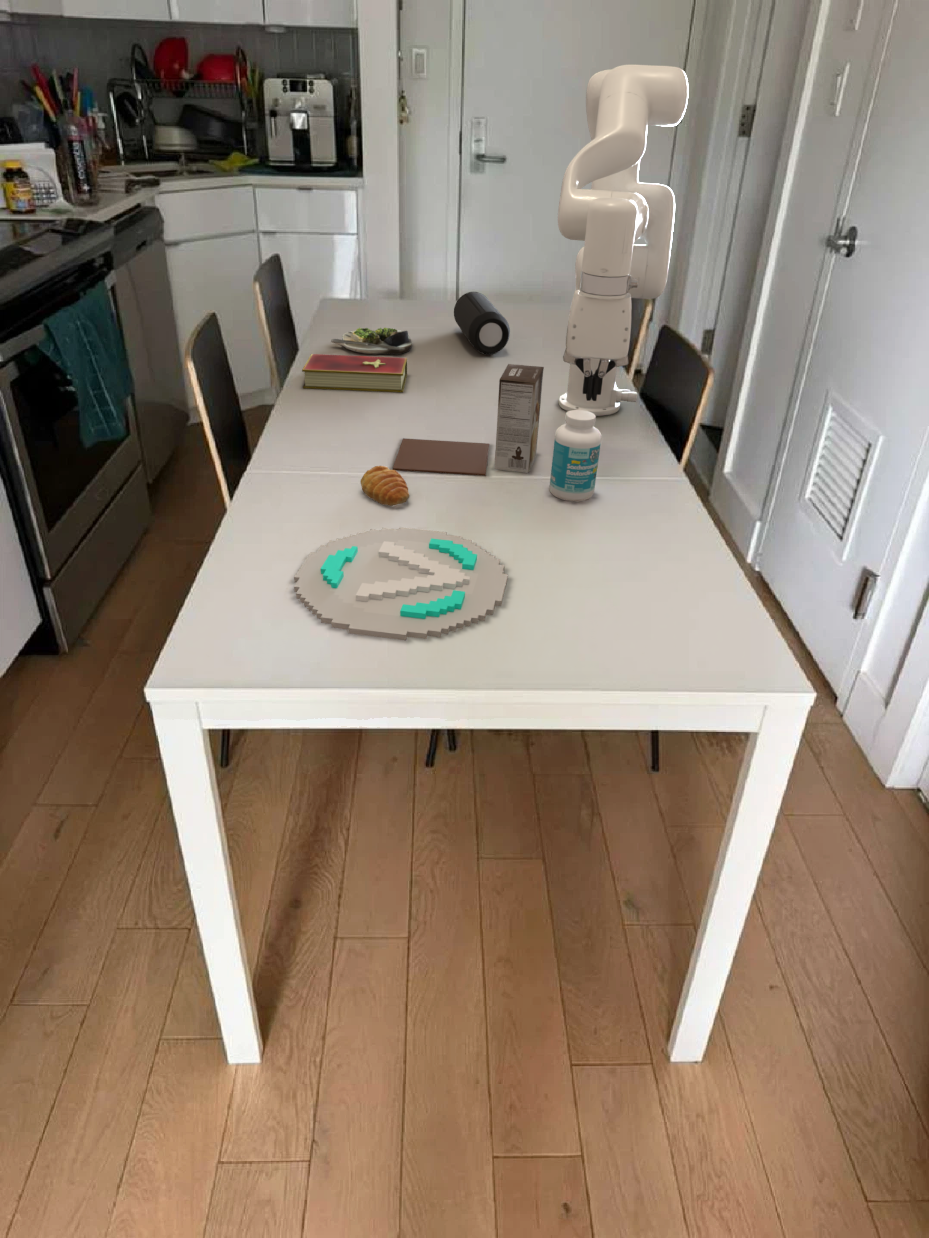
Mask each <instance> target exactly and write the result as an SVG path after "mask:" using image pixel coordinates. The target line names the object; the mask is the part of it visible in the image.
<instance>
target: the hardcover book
mask: <svg viewBox="0 0 929 1238" xmlns="http://www.w3.org/2000/svg"><path fill="white" fill-rule="evenodd" d="M301 372H303V373H304V383H303V386H302V388H303V389H311V390H330V391H331V390H333V391H334V390H335V391H354V392H355V391H358V392H383V393H404V389H405V385H406V381H407V377H408V357H395V356H394V357H393V356H371V355H370V356H369V355H368V356H367V355H346V354H345V355H344V354H323V353H321V354H320V353H311V354H310V356H309V357H308V359H307V360H306V361H305V364H304V365H303V367H302V368H301Z"/></svg>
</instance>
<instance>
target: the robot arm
mask: <svg viewBox="0 0 929 1238" xmlns="http://www.w3.org/2000/svg"><path fill="white" fill-rule="evenodd" d="M688 81H689V80H688V77H687V74H686V72H685V71H684V70H683V69H682V68H680V67H679V66H671V65H653V64H651V65H650V64H621V65H618V66H615V67H613V68H612V69H611V68H609V69H605V70H604V69H603V70H600V71H598V72H595V73H594V74H593V75H591V77H590V78H589V80H588V83H587V86H586V93H585V112H586V113H585V114H586V121H587V126H588V131H589V136H590V141H589V142H588V143H586V144H585V145H584V146H583V147H582V148H581V149H580V150H579V151H578V152H577V153H576V154H575V155H574V156H573V158H572V159H571V160H570V162H569V163H568V165H567V167H566V169H565V172H564V174H563V177H562V181H561V186H560V187H561V188H560V194H559V201H558V209H557V226H558V231H559V232H560V234H561V236H563V237H564V239H568V240H570V241H581V242H584V245H583V246H582V247H581V248H580V249H579V251H578V252H577V255H576V258H575V264H574V272H575V273H574V276H575V290H574V293H573V296H572V300H571V303H570V309H569V313H568V314H569V315H568V320H567V326H566V327H567V328H566V336H565V349H564V353H563V355H562V360H563V362H564V363H567V364H569V371H568V380H567V390H566V392H565V393H563V394H561V395H560V396H559V397H558V405H559V407H560V408H561V409H562V410H564V411H566V412H568V411H571V410H584V411H588V412H591V413H593V414H594V415H595V416H596V417H602V416H609V415H613V414H616V413H617V412H618V411H619V410H620V409H621V408H620V407H621V402H630V403H637V398H638V392H636V391H631V390H630V389H625V388H624V389H620V388H619V387H617V383H616V379H617V371H618V367H625V366H628V364H629V355H628V354H629V350H630V343H631V342H630V341H631V329H632V299H639V300H640V299H641V300H653V299H657V298H659V297H661V295H662V294H663V293H664V291H665V289H666V285H667V281H668V277H669V268H670V259H671V252H672V251H671V250H672V243H673V232H674V224H675V213H676V198H675V194H674V192H673V190H672V189H671V187H669V186H668V185H665V184H660V183H650V182H640V181H639V171H640V165H641V159H642V158H643V156H644V154H645V152H646V148H647V136H648V126H654V127H655V126H656V127H675V126H677V125H679V123H680V122H681V121H682V120H683V118H684V115H685V113H686V111H687V110H686V109H687V106H688V99H689V82H688ZM590 183H591V185H590V186H591V188H590V189H589V188H585V186H587V185H589V184H590ZM638 240H643V241H644V242H645V244H639V243H636V242H637V241H638Z"/></svg>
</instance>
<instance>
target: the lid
mask: <svg viewBox="0 0 929 1238" xmlns="http://www.w3.org/2000/svg"><path fill="white" fill-rule="evenodd" d="M504 572H505V564H501V558H496V555H492V554H491V552H489V551H487V549H486V548H482V546H481V545H477V542H473V539H467V538H463V536H462V535H453V534H448V532H447V531H441V530H440V531H439V530H430V529H422V528H412V527H402V526H399V527H398V529H397V528H389V527H382V528H381V529H376V528H375V529H373V528H370V529H369V530H364V531H363V532H356V534H350V535H349V536H343V537H342V538H336V539H335V540H332V539H331V540H329V541H328V543H327V544H320V546H319V548H318V549H317V550H316V552H314V551H310V552H309V554H308V555H307V556H306V558H305V560H304V561H303V563H302V564H301V566H300V567H299V569H298V570H297V572H296V573H295V575H294V576H293V580H294V583H295V584H294V586H293V589H294V593H295V598H296V600H299V601H300V603H301V604H303V605H304V607H305V608H306V607H307V609H308V612H309V611H311V612H312V615H314V616H316V619H317V620H318V619H319V620H320V623H321V624H330V625H331V628H332V629H340V630H348V634H352V635H358V636H367V637H374V638H375V637H376V638H383V639H390V640H391V639H392V640H397V641H399V640H400V641H407V639H408V638H414V639H422V640H427V638H428V636H429V637H436V638H441V636H442V635H449V632H455V633H456V632H457V629H459V630H463V629H464V627H471V624H476V625H477V624H478V622H479V621H481V622H485V620H486V617H487V615H488V616H493V614H494V611H495V607H502V604H503V601H504V596H505V592H506V588H507V584H508V579H509V574H508V573H504Z"/></svg>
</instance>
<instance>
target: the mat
mask: <svg viewBox="0 0 929 1238" xmlns="http://www.w3.org/2000/svg"><path fill="white" fill-rule="evenodd" d="M489 451H490V443H485V442H468V441H452V440H435V439H418V438H404V437H403V438H402V441H401V442H400V446H399V448H398V451H397V454H396V458H395V460H394V463H393V466H392V469H391V470H396V471H397V472H415V473H429V474H431V473H434V474H446V475H447V474H448V475H462V476H463V475H464V476H479V477H486V474H487V469H488V468H487V467H488V460H489Z"/></svg>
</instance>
